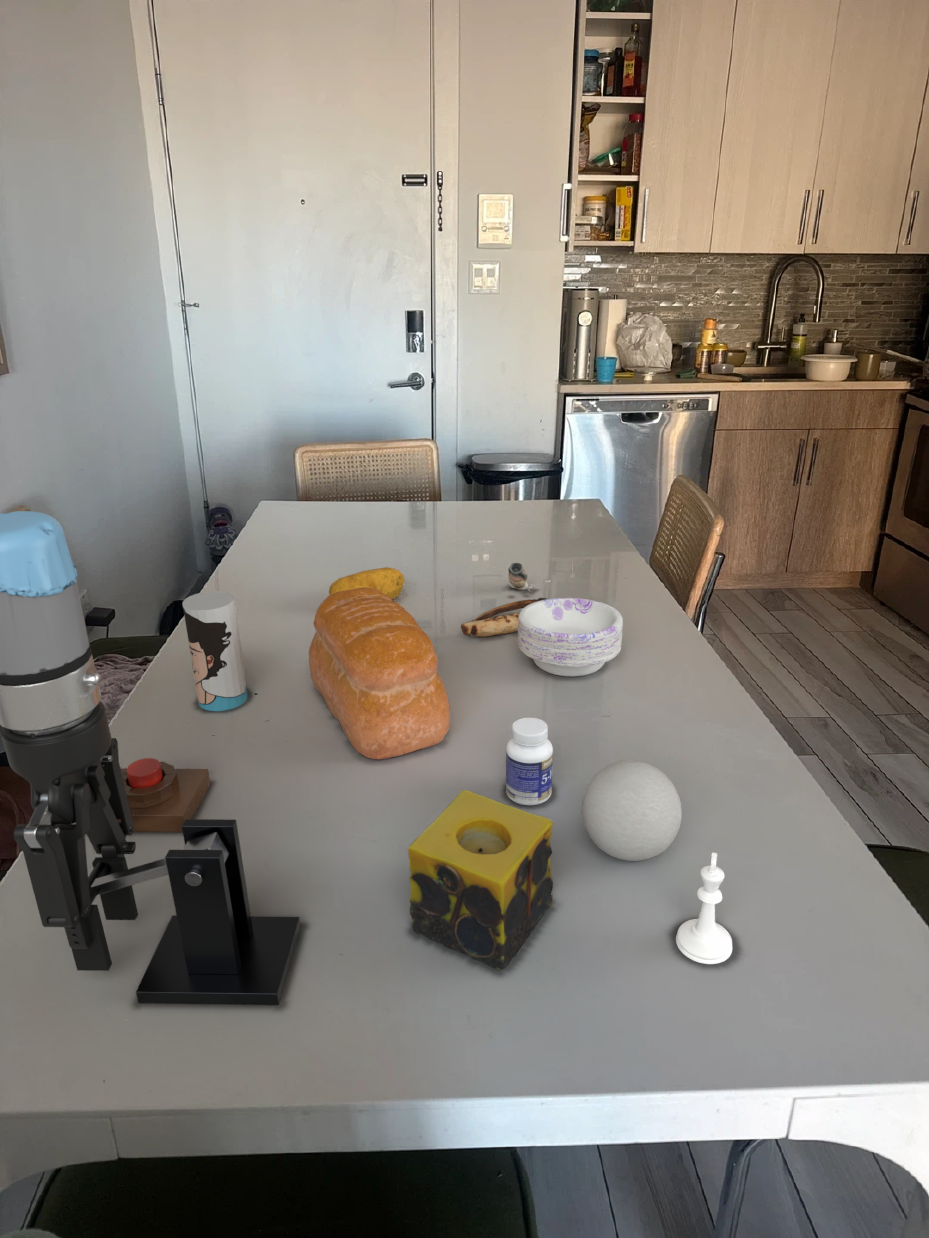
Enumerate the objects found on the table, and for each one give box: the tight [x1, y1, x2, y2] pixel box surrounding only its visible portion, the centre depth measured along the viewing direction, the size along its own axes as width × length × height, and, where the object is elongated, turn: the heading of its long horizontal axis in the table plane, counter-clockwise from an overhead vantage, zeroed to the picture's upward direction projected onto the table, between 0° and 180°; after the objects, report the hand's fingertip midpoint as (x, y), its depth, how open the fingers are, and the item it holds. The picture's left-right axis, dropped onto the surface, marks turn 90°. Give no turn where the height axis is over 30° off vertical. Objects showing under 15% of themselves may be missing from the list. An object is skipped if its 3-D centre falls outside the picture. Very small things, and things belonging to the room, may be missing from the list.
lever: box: [88, 832, 229, 905], centre depth 74 cm, size 13×5×2 cm, turn 88°
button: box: [126, 757, 163, 788], centre depth 97 cm, size 4×4×2 cm
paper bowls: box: [517, 597, 624, 678], centre depth 128 cm, size 15×15×8 cm
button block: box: [117, 761, 212, 833], centre depth 98 cm, size 11×9×4 cm
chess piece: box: [675, 852, 733, 965], centre depth 77 cm, size 5×5×10 cm
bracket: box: [135, 818, 301, 1006], centre depth 75 cm, size 12×9×14 cm
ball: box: [581, 760, 683, 862], centre depth 89 cm, size 10×10×10 cm
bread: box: [308, 587, 451, 760], centre depth 115 cm, size 14×26×15 cm, turn 24°
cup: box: [182, 590, 249, 712], centre depth 119 cm, size 7×7×15 cm
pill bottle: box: [505, 717, 554, 806], centre depth 98 cm, size 5×5×9 cm
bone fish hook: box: [460, 597, 548, 638], centre depth 141 cm, size 9×5×18 cm
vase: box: [507, 562, 537, 592], centre depth 155 cm, size 5×5×6 cm
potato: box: [328, 566, 406, 601], centre depth 150 cm, size 8×14×7 cm, turn 118°
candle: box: [407, 789, 554, 971], centre depth 80 cm, size 10×10×10 cm
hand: (108, 940), depth 77 cm, fingers closed on lever, 5 cm apart
